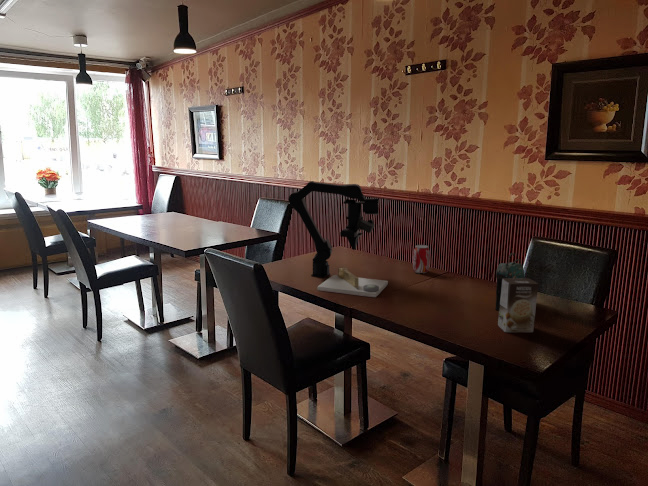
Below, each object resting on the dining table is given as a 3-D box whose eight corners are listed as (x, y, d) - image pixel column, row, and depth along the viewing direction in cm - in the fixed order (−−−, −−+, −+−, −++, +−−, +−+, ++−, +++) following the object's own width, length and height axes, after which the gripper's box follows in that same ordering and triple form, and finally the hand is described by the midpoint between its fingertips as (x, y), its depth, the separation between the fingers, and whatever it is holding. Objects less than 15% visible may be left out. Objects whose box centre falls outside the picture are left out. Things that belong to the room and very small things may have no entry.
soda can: (424, 275, 216) (425, 248, 213) (410, 272, 220) (411, 246, 217) (431, 271, 221) (432, 245, 219) (417, 269, 225) (418, 243, 223)
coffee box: (505, 333, 152) (509, 283, 149) (497, 325, 159) (501, 277, 155) (534, 332, 153) (538, 283, 149) (525, 324, 159) (529, 277, 155)
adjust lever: (336, 276, 208) (337, 268, 207) (345, 275, 209) (345, 267, 209) (351, 287, 192) (351, 278, 192) (361, 286, 194) (361, 278, 193)
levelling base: (317, 290, 195) (317, 282, 194) (333, 278, 211) (333, 271, 210) (375, 297, 186) (375, 289, 185) (387, 284, 202) (387, 277, 201)
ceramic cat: (506, 314, 168) (511, 258, 164) (488, 310, 172) (492, 255, 168) (526, 300, 183) (531, 248, 179) (509, 296, 187) (513, 245, 183)
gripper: (365, 218, 196) (365, 256, 200) (378, 212, 213) (377, 246, 217) (340, 216, 200) (339, 253, 204) (354, 210, 217) (354, 244, 221)
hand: (353, 249), depth 211 cm, fingers closed
